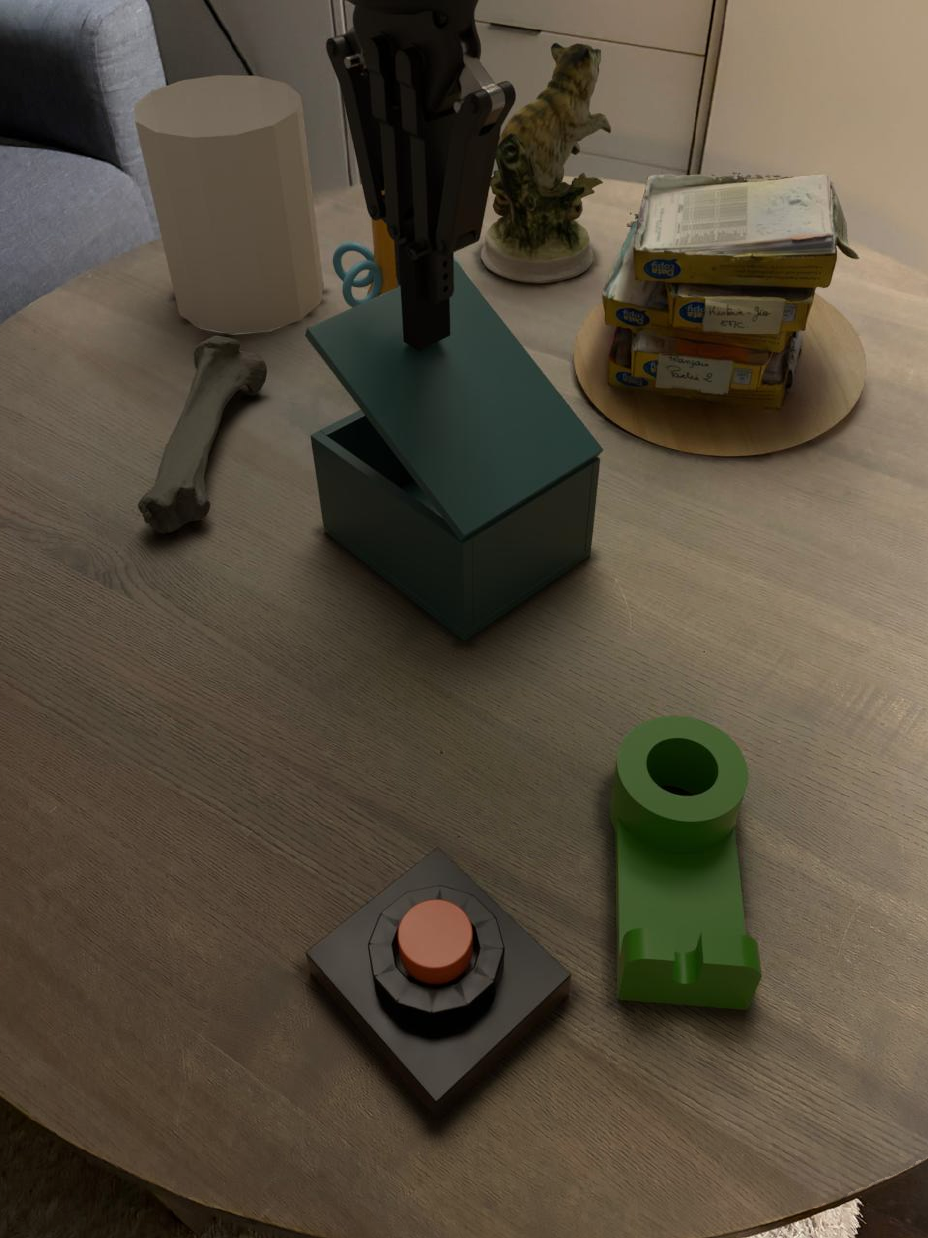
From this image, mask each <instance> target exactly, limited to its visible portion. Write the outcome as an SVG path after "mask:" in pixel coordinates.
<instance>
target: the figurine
mask: <svg viewBox="0 0 928 1238" xmlns="http://www.w3.org/2000/svg"><path fill="white" fill-rule="evenodd" d="M550 52H551V56H552V59H553V61H554V62H555V67H554V69H553V71H552V76H551V79H550V80H549V81H548V82H547V85H546V88H544V89H542V90H541V91H540V93H539V94H538V95H537V96H536V98H535V99H534V100H533V101H531V102H529V103H527V104H526V105H524V106H522V107H521V108H520V109H519V110H518V111H516V112H515V113H514V114H513V115H512V117H511V118H510V119H509V120H508V121H507V123H506V124H505V126H504V128H503V130H502V132H501V133H500V136H499V141H498V147H497V152H496V157H495V162H496V166H497V170H496V169H495V170H493V175H492V178H491V183H490V189H491V193H492V195H495V196H494V199H493V203H492V208H493V211H494V213H495V214H496V215H497V216H499V218H497V220H496V221H494V222H493V223H492V224H491V225H490V226H489V227H488V228H487V230H486V232H485V234H484V235H485V236H484V239H485V243H484V245H483V246H482V247H481V251H480V259H481V261H482V263H483V265H484V266H485V267H486V268H487V269H488V270H490V271H491V272H492V273H493V274H496V275H498V276H500V277H502V278H505V279H508V280H512V281H515V282H521V283H527V284H549V283H554V282H555V283H556V282H560V281H565V280H569V279H572V278H575V277H578V276H580V275H582V274H583V273H584V272H586V271H587V270H588V269H589V268H590V267H591V266H592V264H593V261H594V252H593V250H592V248H591V246H590V241H591V240H590V239H591V238H590V235H589V232H588V231H587V229H586V228H585V227H584V226H582V224H580V222H578V221H577V219H579V218H580V217H581V215H582V213H583V211H584V209H583V207H584V206H583V201H582V199H584V198H585V197H588V196H590V195H593V194H595V193H596V191H595V189H594V188H595V187H598V186H600V185H601V184H603V183H604V181H603V180H601V179H599V178H598V177H594V176H590V177H589V176H586V174H585V172H582V173H580V174H579V176H578V177H574V178H573V180H572V181H571V183H570V184H569V183H567V182H566V181H563V180H564V177H565V168H564V166H565V164H566V162H567V161H568V159H569V158H570V156H571V154H572V155H574V156H576V155H578V154H579V153H581V147H580V145H579V142H581V141H582V140H584V139H585V138H586V137H589V136H590V135H592V134H594V133H597V132H598V131H600V130H602V131H604V132H606V133H608V134H612V126H611V123H610V122H609V120H608V118H607V116H606V114H603V113H601V112H598V113H597V112H596V113H593V114H591V111H590V107H591V106H590V105H591V98H592V96H593V94H594V92H595V88H596V84H597V82H598V78H599V74H600V67H599V66H600V64H601V62H602V49H599V48H593V47H592V46H591V45H589V44H583V43H574V44H571V45H570V46H567V47H564V46H563V45H561V44H559V43H558V42H554V43H552V44H551V47H550Z"/></svg>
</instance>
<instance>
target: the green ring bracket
mask: <svg viewBox="0 0 928 1238" xmlns="http://www.w3.org/2000/svg"><path fill="white" fill-rule="evenodd" d="M748 784H749V768H748V764H747V760H746V758H745V756H744V754H743V752H742V750H741V748H740V747H739V745H737V742H735V741H734V739H733V738H731V737H730V736H729V735H728V734H727V733H726V732H724V731H723V730H721V729H720V728H718V727H717V726H715V725H713V724H711V723H709V722H707V721H704V720H702V719H698V718H696V717H690V716H684V715H663V716H657V717H653V718H650V719H647V720H646V721H645V720H644V721H643V722H641V723H639V724H637V725H636V726H634V728H632V729H631V730H629V732H628V733H627V734H626V735H625V736H624V738H623V740H622V741H621V743H620V746H619V747H618V751H617V755H616V762H615V769H614V775H613V781H612V787H611V793H610V794H611V795H610V800H609V818H610V822H611V825H612V827H613V828H612V829H613V830H614V832H615V833H614V841H615V843H614V844H615V845H614V847H615V850H614V852H615V853H614V854H615V858H614V859H615V919H616V920H615V921H616V924H615V925H616V928H615V929H616V932H615V933H616V997H617V999H616V1000H621V1001H631V1002H633V1001H634V1002H643V1003H657V1004H670V1005H682V1006H693V1007H705V1008H718V1009H719V1008H720V1009H731V1010H741V1011H742V1010H743V1011H744V1010H745V1011H748V1010H749V1008H750V1005H751V1003H752V1000H753V999H754V996H755V994H756V991H757V989H758V986H759V984H760V982H761V980H762V967H761V960H760V950H759V943H758V941H757V940H756V939H755V938H754V937H751V936H748V935H747V929H746V921H745V912H744V910H745V909H744V902H743V893H742V892H743V891H742V883H741V881H742V880H741V872H740V863H739V855H738V845H737V834H736V828H735V827H736V822H737V819H738V816H739V814H740V810H741V807H742V803H743V800H744V798H745V794H746V791H747V787H748ZM662 787H674V788H675V787H676V788H679V789H682V790H684V791H686V792H688V793H690V794H691V795H679V794H675V793H672V792H669V791H667V790H665V789H664V788H662Z"/></svg>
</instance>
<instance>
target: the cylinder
mask: <svg viewBox="0 0 928 1238" xmlns="http://www.w3.org/2000/svg"><path fill="white" fill-rule="evenodd" d="M381 192H382V195H384V194H385V191H384V190H383V191H381ZM370 218H371V217H370ZM370 220H371V231H372V232H371V233H372V244H373V252H372V251H371V249H370V248H368V247H367V246H365V244H363V243H360V242H357V241H346V242H343V243H341V244H339V246H337V247H336V249H335V250H334V253H333V256H332V266H333V269H334V272H335V274H336V275H337V277H338V278H339V279H340V280H341V281H342V297H343V299H344V301H345V303H346V304H347V305H348V306H349V307H350V308H353V307H355V306H357V305H360V304H362V303H364V302H366V301H369V300H371V299H373V298H375V297H377V296H380V295H382V294H384V293H386V292H389V291H391V290H393V289H395V288H397V287H400V285H399V284H398V280H397V277H396V265H395V262H396V260H395V248H394V240H393V239H392V238H391V237H390V236H389V234H388V231H387V224H386V223H385V222H384V221H383V220H382V219H379V220H376V221H375V220H373V219H372V218H371V219H370ZM347 252H357V253H359V254H360V255H362V256H363V257H364V258H365V259H364V260H360V261H358V262H356V263H355V264H353V265H352V266H351V267H350V268H349V269H348V271H347V272H346V270H345V269H344V266H343V264H342V259H343V256H344V255H345V254H346V253H347ZM455 261H456V262H457V263H458V265H459V266H460V267H461V268H462V265H461V264H460V262H459V261H458V260H457V259H456V258H455V257H454V262H455ZM462 269H463V268H462ZM363 271H368V273H367V275H365V276H364V277H362V278H361V277H360V278H357V276H358V275H359V274H360V273H362V272H363ZM368 286H369V288H368V290H367V293H366V296H365V297H364V298H361V299H356V298H355V297H354V295H353V293H352V289H353V288H365V287H368Z"/></svg>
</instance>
